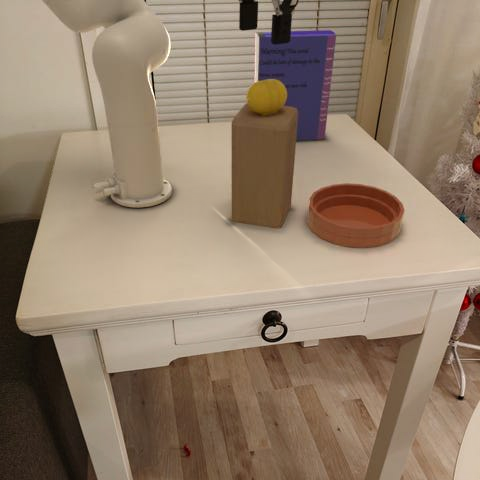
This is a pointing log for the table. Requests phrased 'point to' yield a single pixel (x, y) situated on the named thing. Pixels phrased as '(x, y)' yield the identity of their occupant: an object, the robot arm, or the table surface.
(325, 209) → the fruit bowl
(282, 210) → the wooden block
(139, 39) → the robot arm
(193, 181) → the table surface
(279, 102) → the lemon
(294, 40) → the purple book
